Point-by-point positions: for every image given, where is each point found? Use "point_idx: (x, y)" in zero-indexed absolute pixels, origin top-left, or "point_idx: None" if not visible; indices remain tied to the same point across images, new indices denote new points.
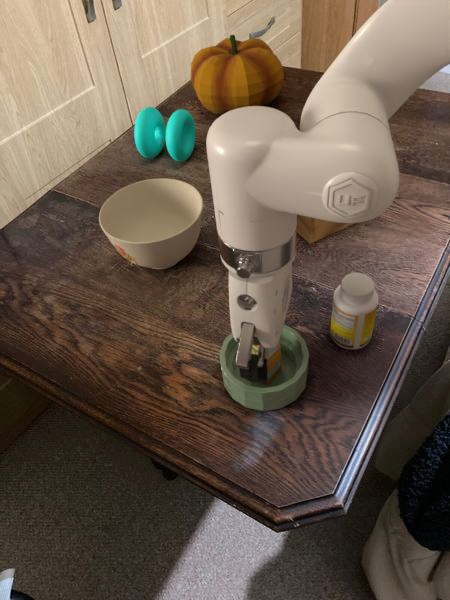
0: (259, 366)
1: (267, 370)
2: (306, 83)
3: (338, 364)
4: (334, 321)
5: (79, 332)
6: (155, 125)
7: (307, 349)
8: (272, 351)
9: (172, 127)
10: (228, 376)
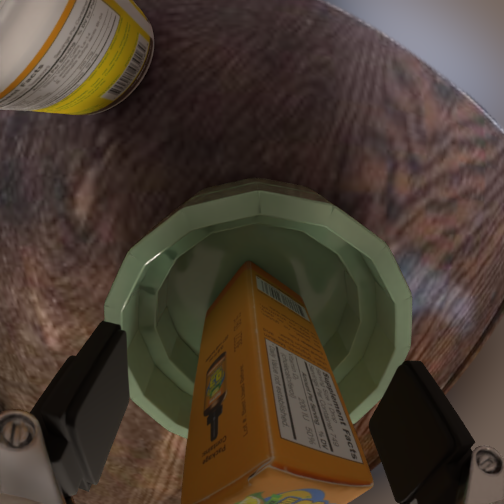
0: (498, 462)
1: (431, 392)
2: None
3: (207, 83)
4: (73, 93)
5: None
6: None
7: (226, 197)
8: (307, 373)
9: None
10: None
